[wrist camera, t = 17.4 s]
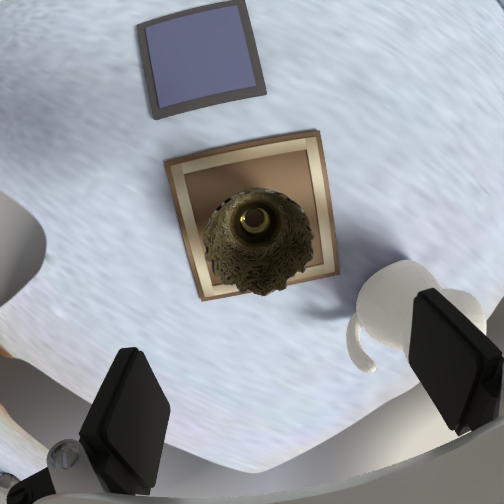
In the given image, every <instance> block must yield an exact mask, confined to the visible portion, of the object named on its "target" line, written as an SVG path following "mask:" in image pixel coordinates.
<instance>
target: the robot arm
mask: <svg viewBox="0 0 504 504" xmlns="http://www.w3.org/2000/svg"><path fill="white" fill-rule="evenodd" d="M501 355H502V352H501V351H500V350H499V349H498V347H497V346H496V345H494V343H493V342H492V341H491V340H490V339H489V338H487V336H486V335H485V334H484V333H483V332H482V331H480V330H479V329H478V328H477V327H476V326H475V325H474V324H473V323H472V322H471V321H470V320H469V319H468V318H467V317H466V316H465V315H464V314H463V313H462V312H461V311H459V310H458V309H457V308H456V307H455V306H454V305H453V304H452V303H451V302H450V301H449V300H447V299H446V298H445V297H444V296H443V295H442V294H441V293H440V292H439V291H437V290H436V289H435V288H429V289H426V290H422V291H419V292H418V294H417V297H415V298H414V300H413V313H412V326H411V337H410V346H409V354H408V360H409V364H410V366H411V368H412V369H413V371H414V372H415V374H416V376H417V377H418V379H419V380H420V382H421V383H422V385H423V387H424V388H425V390H426V391H427V393H428V395H429V396H430V398H431V399H432V401H433V403H434V404H435V406H436V407H437V409H438V411H439V412H440V414H441V415H442V417H443V419H444V421H445V422H446V424H447V426H448V428H449V429H450V430H452V431H453V430H455V432H456V434H457V435H458V436H460V435H462V434H464V433H466V432H468V431H470V430H471V431H472V432H470V433H468V434H466V435H464V436H462V437H460V438H457V439H455V440H453V441H451V442H449V443H446V444H444V445H442V446H440V447H437V448H435V449H433V450H431V451H428V452H426V453H423V454H421V455H418V456H416V457H413V458H410V459H408V460H405V461H403V462H400V463H397V464H394V465H391V466H388V467H385V468H382V469H379V470H376V471H372V472H369V473H366V474H363V475H359V476H355V477H351V478H348V479H344V480H340V481H335V482H331V483H327V484H323V485H318V486H313V487H308V488H302V489H297V490H290V491H283V492H276V493H270V494H261V495H250V496H238V497H222V498H167V497H147V496H135V494H141V495H150V489H151V488H153V487H154V486H155V483H156V478H157V473H158V468H159V463H160V458H161V453H162V449H163V444H164V439H165V434H166V430H167V425H168V421H169V416H170V405H169V402H168V400H167V398H166V397H165V395H164V393H163V391H162V389H161V387H160V385H159V383H158V381H157V379H156V377H155V375H154V373H153V371H152V369H151V367H150V365H149V363H148V361H147V359H146V357H145V355H144V353H143V352H142V351H139V350H138V349H137V348H136V347H131V348H121V349H120V350H119V351H118V353H117V355H116V357H115V359H114V361H113V363H112V365H111V367H110V369H109V371H108V373H107V375H106V377H105V379H104V381H103V383H102V385H101V387H100V389H99V391H98V393H97V395H96V397H95V400H94V402H93V404H92V406H91V408H90V410H89V412H88V415H87V417H86V419H85V421H84V423H83V425H82V428H81V430H80V432H79V435H80V439H79V441H76V440H73V439H65V440H62V441H60V442H58V443H56V444H55V445H54V446H53V447H52V448H51V449H50V451H49V453H48V455H47V466H48V467H46V468H45V469H43V470H41V471H39V472H37V473H35V474H34V475H32V476H30V477H28V478H26V479H24V480H22V481H20V482H18V483H16V484H15V485H14V486H12V488H11V489H10V490H9V492H8V494H7V504H504V358H503V357H502V356H501Z"/></svg>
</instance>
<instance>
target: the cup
mask: <svg viewBox="0 0 504 504" xmlns="http://www.w3.org/2000/svg"><path fill="white" fill-rule="evenodd" d="M252 209H257V210H259V211H261V212H262V214H263V217H264V219H263V222H262V224H261V225H259V226H257V227H252V226H250V225H248V224H247V222H246V219H245V217H246V214H247V213H248V211H250V210H252ZM309 225H310V222H309V218H308V216H307V215H306V214H305V212H304V210H303V209H302V207H301V206H300V205H299V204H297V203H296V202H295V201H293V200H291V199H290V198H288V196H287V195H285V194H283V193H279V192H276V191H273V190H269V189H264V188H250V189H245V190H242V191H240V192H237V193H235V194H234V195H232V196H231V197H229V198H228V199H227V200H225V201H224V202H223V203H222V204H221V205H220V206H219V207H218V208H217V209H216V210H214V212H213V213H212V215H211V216H210V218H209V222H208V224H207V226H206V228H205V231H204V234H203V244H204V246H205V248H206V253H205V260H206V262H212V271H213V274H214V275H215V277H217V278H218V279H219V278H221V280H222V281H223V284H224V285H234V284H235V285H236V287H237V289H238V290H239V291H240V292H241V293H244V292H246V290H250V291H252V292H253V293H254V294H257V295H261V296H266V295H268V294H270V293H271V292H274V291H275V290H279V291H281V290H284V289H286V287H287V280H288V279H289V278H291V277H294V276H295V274H296V273H297V272H301V273H304V272H305V270H306V264H307V263H309V262H311V261H312V260H313V255H314V254H313V247H312V240H314V239H315V236H314V233H313V231H312V230H311V229H310V227H309Z"/></svg>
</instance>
